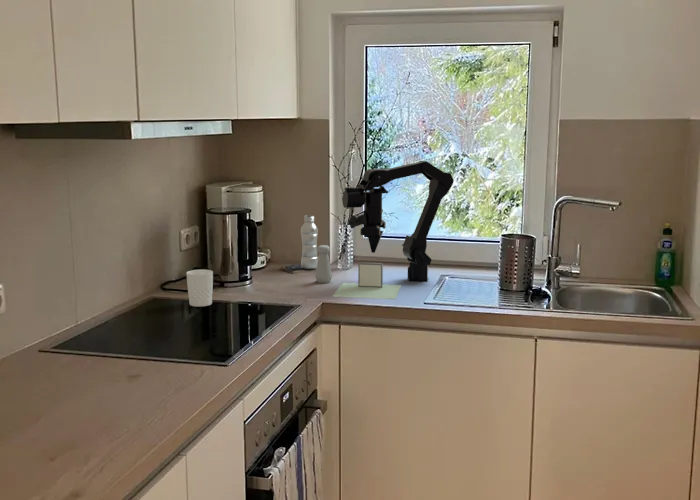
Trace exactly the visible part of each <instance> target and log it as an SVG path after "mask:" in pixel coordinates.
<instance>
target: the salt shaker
mask: <svg viewBox="0 0 700 500" xmlns="http://www.w3.org/2000/svg"><path fill="white" fill-rule="evenodd" d="M330 251H331V248H330V246H329V245H327V244H322V245H321V244H320V245H319V246H318V245H317V254H318V263H317V268H315V269H316V270H315V275H314V276H315V280H316V282H317V283H320V284H328V283H330V282H331V280H332V279H333V274H332V268H331V263H330V258H329V253H330Z"/></svg>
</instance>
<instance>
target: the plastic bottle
mask: <svg viewBox="0 0 700 500" xmlns="http://www.w3.org/2000/svg"><path fill="white" fill-rule="evenodd" d="M303 221H304V223H303V224H302V225H301V227H300V237H301V245H302V246H301V248H302V249H301V260H300V264H301V265H300V266H301V267H302V268H303V269H307V270H314V269H317V263H318V257H319V255H318V251H317V248H318V245H317V244H318V234H319V229H318V226H317V225H316V223H315V215H304V217H303Z"/></svg>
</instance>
